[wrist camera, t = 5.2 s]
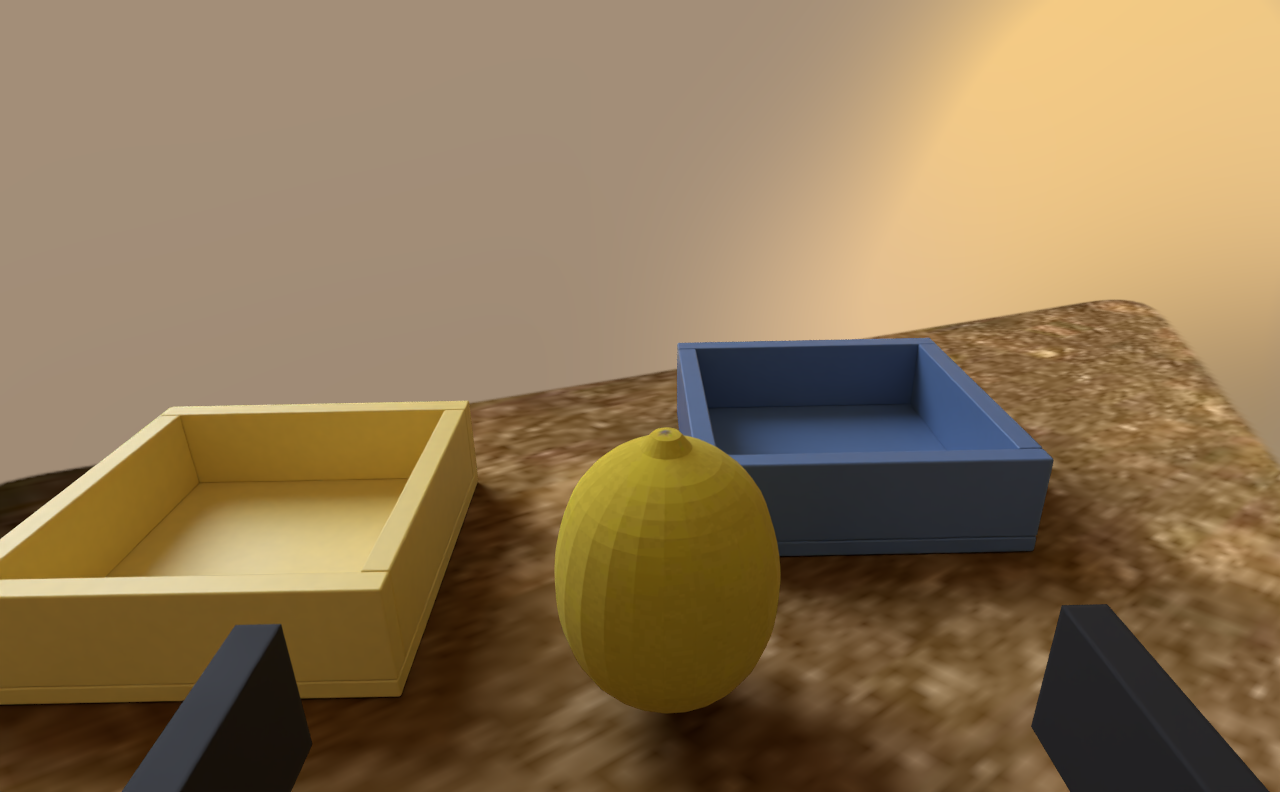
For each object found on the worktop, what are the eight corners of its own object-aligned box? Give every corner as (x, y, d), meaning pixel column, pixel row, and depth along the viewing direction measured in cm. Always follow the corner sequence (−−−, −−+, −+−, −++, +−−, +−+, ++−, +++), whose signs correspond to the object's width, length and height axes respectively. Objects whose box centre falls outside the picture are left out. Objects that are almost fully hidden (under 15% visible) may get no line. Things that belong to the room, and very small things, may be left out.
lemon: (665, 602, 24) (664, 367, 21) (813, 698, 21) (839, 430, 18) (522, 697, 21) (494, 432, 18) (668, 831, 17) (667, 529, 14)
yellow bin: (401, 697, 21) (380, 589, 20) (-27, 706, 21) (-80, 599, 20) (478, 480, 32) (469, 400, 30) (194, 486, 32) (170, 406, 30)
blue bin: (1034, 552, 27) (1055, 459, 25) (695, 559, 27) (695, 466, 25) (919, 408, 37) (929, 337, 36) (677, 413, 37) (677, 342, 36)
